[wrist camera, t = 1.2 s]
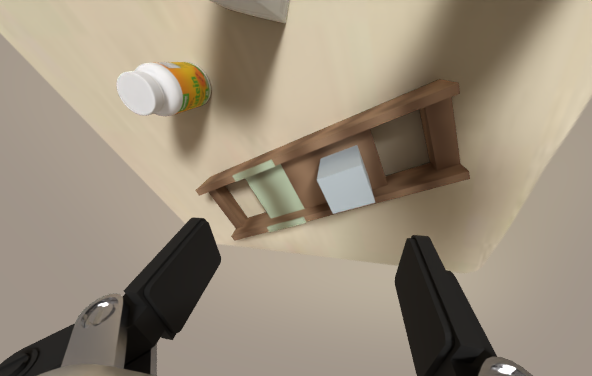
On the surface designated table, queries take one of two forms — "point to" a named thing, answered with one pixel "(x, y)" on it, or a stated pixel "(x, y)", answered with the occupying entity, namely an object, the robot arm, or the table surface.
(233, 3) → the supplement box
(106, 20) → the table surface
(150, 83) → the supplement bottle
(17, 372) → the robot arm
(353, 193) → the block
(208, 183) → the box
